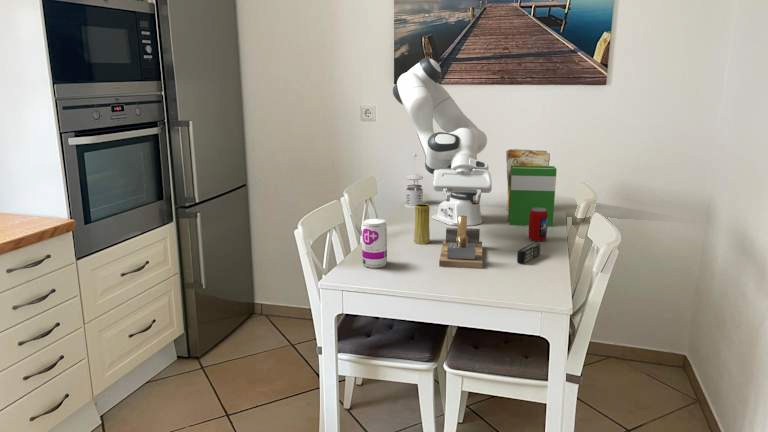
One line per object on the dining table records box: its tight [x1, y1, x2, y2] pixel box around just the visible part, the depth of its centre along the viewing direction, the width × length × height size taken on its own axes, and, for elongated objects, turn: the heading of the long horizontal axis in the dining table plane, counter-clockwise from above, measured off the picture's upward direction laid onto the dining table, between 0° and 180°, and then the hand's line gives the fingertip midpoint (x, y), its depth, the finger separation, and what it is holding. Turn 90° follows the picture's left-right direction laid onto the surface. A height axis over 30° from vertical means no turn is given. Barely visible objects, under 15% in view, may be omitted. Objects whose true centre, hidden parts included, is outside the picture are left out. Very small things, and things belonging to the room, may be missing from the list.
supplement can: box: [361, 217, 388, 269], centre depth 191 cm, size 8×8×15 cm
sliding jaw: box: [447, 215, 475, 259], centre depth 192 cm, size 6×9×14 cm, turn 81°
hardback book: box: [507, 165, 557, 227], centre depth 240 cm, size 18×7×24 cm, turn 82°
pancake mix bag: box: [505, 148, 551, 211], centre depth 261 cm, size 7×19×28 cm, turn 71°
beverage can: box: [527, 208, 548, 242], centre depth 218 cm, size 7×7×12 cm
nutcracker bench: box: [438, 227, 483, 269], centre depth 200 cm, size 24×14×7 cm, turn 171°
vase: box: [413, 203, 431, 245], centre depth 216 cm, size 6×6×14 cm
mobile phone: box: [516, 241, 542, 265], centre depth 197 cm, size 5×3×15 cm
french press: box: [403, 153, 424, 209], centre depth 273 cm, size 10×12×25 cm
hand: (461, 201), depth 198 cm, fingers open, 8 cm apart
